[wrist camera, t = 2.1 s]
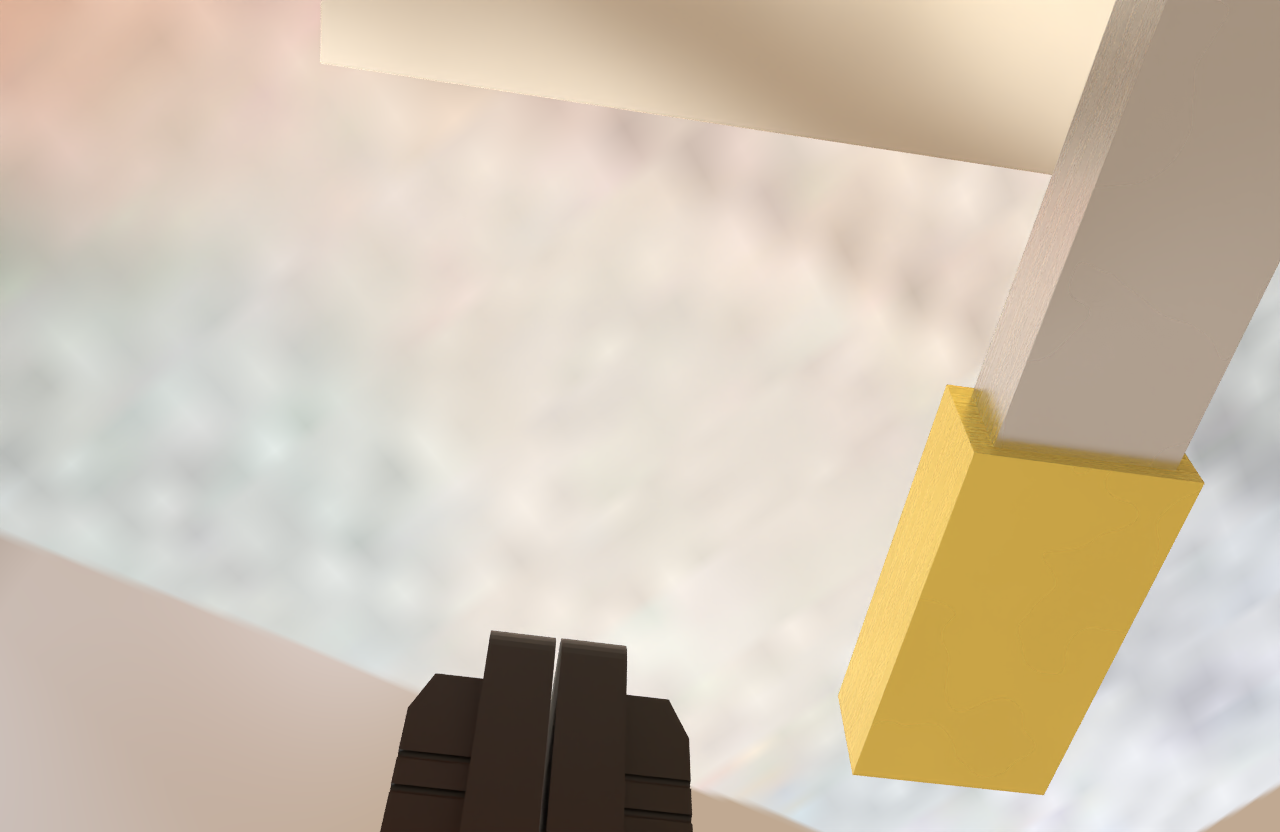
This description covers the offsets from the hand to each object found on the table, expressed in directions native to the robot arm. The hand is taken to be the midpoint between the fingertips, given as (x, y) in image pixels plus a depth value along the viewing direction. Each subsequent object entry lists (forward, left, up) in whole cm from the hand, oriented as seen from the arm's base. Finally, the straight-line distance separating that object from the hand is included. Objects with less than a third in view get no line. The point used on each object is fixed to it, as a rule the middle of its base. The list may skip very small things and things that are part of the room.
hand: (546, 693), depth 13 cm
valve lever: (-4, +6, -6) cm, 9 cm away
